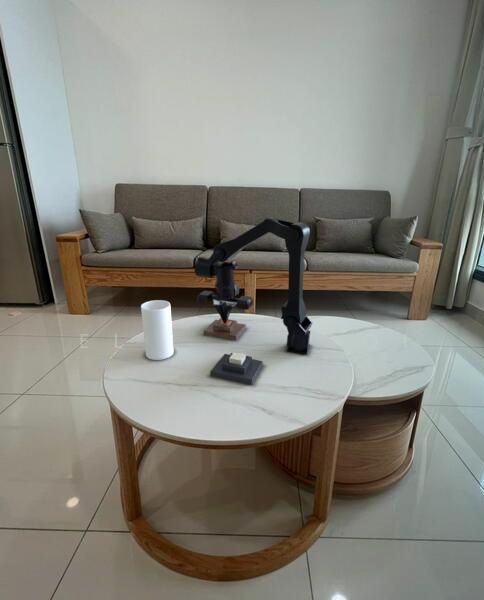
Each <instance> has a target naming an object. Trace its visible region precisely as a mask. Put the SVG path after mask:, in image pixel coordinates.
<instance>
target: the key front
mask: <svg viewBox="0 0 484 600" xmlns="http://www.w3.org/2000/svg"><path fill="white" fill-rule="evenodd" d="M232 353H233V354H232V355H231V356H230V358H229V363H232V364H237V365H242V364H243V363H244V361H245V360H246V356H247V354H246V353H241V352H235V351H234V352H232Z"/></svg>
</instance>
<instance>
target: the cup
mask: <svg viewBox="0 0 484 600" xmlns="http://www.w3.org/2000/svg"><path fill="white" fill-rule="evenodd" d="M171 308H172V307H171V303H170V302H169V301H167V300H162V299H159V300H158V299H155V300H149V301H145V302H144V303H141V305H140V311H141V320H142V321H141V322H142V329H143V340H144V350H145V356H146V358H147V359H149V360H152V361H162V360H165V359H168V358H170V357H172V356H173V355H174V353H175V351H174V337H173V323H172V321H173V320H172V309H171Z"/></svg>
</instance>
